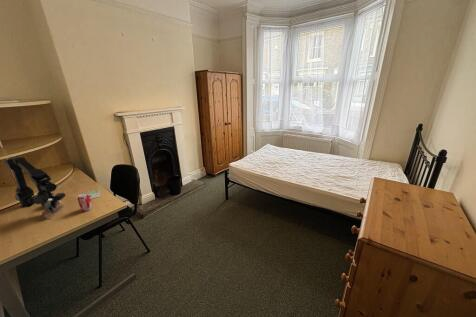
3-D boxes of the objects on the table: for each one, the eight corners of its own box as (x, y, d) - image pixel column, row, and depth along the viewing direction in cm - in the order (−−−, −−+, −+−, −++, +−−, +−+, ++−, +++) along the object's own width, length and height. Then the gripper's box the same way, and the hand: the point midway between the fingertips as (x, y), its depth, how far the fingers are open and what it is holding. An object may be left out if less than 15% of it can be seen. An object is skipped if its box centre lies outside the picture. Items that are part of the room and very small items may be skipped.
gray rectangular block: (47, 212, 136) (43, 203, 133) (50, 208, 139) (47, 200, 137) (53, 211, 136) (50, 202, 134) (57, 208, 140) (54, 199, 138)
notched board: (40, 220, 131) (37, 213, 129) (55, 207, 145) (53, 200, 143) (51, 219, 132) (48, 212, 130) (65, 205, 147) (62, 199, 145)
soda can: (95, 207, 144) (90, 193, 140) (84, 213, 138) (80, 198, 134) (89, 205, 147) (85, 191, 143) (79, 210, 141) (74, 196, 137)
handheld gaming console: (84, 199, 152) (84, 192, 164) (85, 201, 153) (84, 194, 164) (99, 195, 158) (98, 188, 169) (100, 197, 159) (99, 190, 170)
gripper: (17, 196, 123) (27, 217, 128) (51, 193, 127) (59, 213, 132) (30, 188, 133) (39, 207, 138) (62, 185, 137) (69, 204, 142)
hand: (51, 208), depth 137 cm, fingers closed on gray rectangular block, 4 cm apart
